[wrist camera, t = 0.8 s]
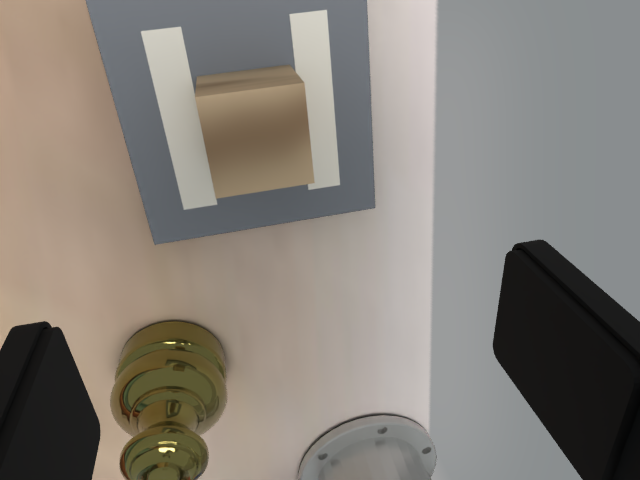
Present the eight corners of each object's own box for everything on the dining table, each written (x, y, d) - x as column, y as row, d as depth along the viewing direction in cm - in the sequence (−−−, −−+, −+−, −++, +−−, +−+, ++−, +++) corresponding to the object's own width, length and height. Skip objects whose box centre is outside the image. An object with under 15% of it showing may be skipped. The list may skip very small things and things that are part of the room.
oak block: (299, 151, 30) (314, 183, 26) (214, 164, 30) (215, 198, 25) (289, 64, 28) (304, 82, 24) (196, 76, 27) (194, 97, 23)
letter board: (370, 200, 34) (375, 208, 33) (156, 235, 32) (154, 245, 31) (359, -38, 27) (365, -38, 26) (88, -10, 26) (82, -8, 25)
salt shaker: (239, 330, 37) (248, 441, 28) (207, 404, 40) (207, 526, 31) (134, 307, 35) (110, 422, 26) (108, 389, 37) (78, 517, 29)
